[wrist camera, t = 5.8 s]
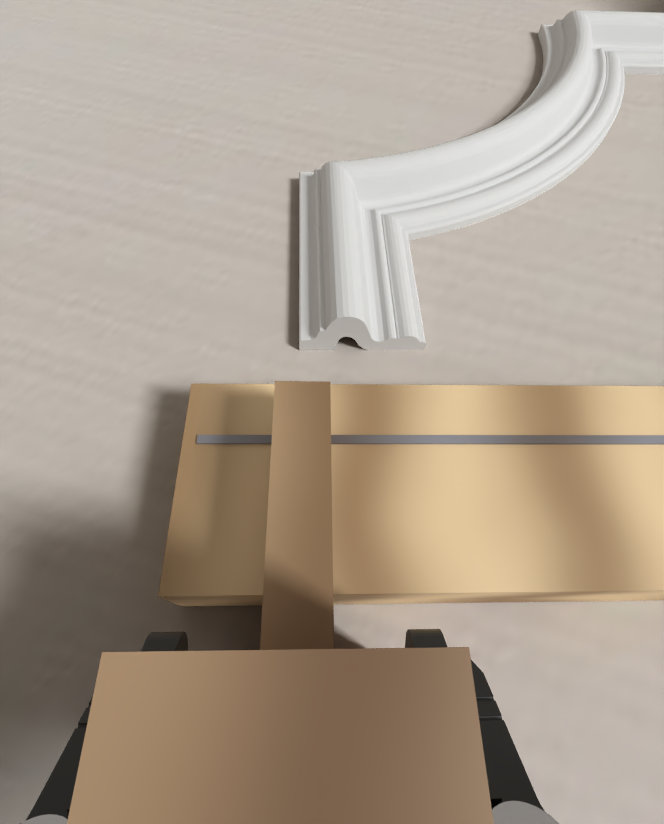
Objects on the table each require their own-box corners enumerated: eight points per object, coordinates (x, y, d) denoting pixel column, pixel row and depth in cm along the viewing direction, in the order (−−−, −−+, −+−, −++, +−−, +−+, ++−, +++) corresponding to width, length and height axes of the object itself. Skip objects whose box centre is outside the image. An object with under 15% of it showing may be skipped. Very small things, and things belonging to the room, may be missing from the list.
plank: (180, 606, 15) (156, 595, 13) (206, 417, 18) (190, 382, 16) (882, 597, 16) (977, 586, 14) (783, 418, 19) (845, 385, 17)
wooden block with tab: (203, 832, 12) (2, 1142, 4) (239, 450, 17) (179, 273, 10) (391, 826, 12) (535, 1112, 4) (369, 451, 18) (416, 278, 10)
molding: (365, 411, 20) (374, 375, 17) (185, 264, 23) (170, 215, 21) (724, 66, 35) (757, 20, 33) (584, 11, 39) (603, -35, 36)
